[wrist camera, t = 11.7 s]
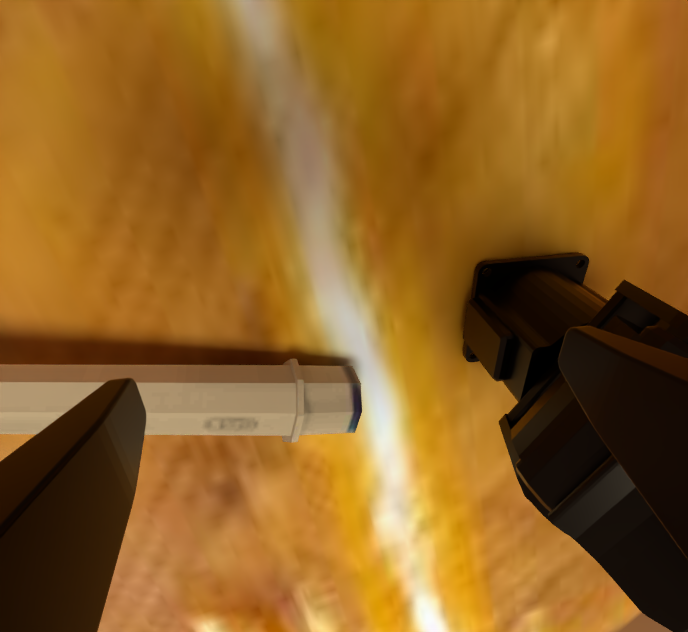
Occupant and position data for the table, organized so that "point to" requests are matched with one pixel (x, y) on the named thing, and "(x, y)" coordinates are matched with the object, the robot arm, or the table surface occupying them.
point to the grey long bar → (193, 397)
